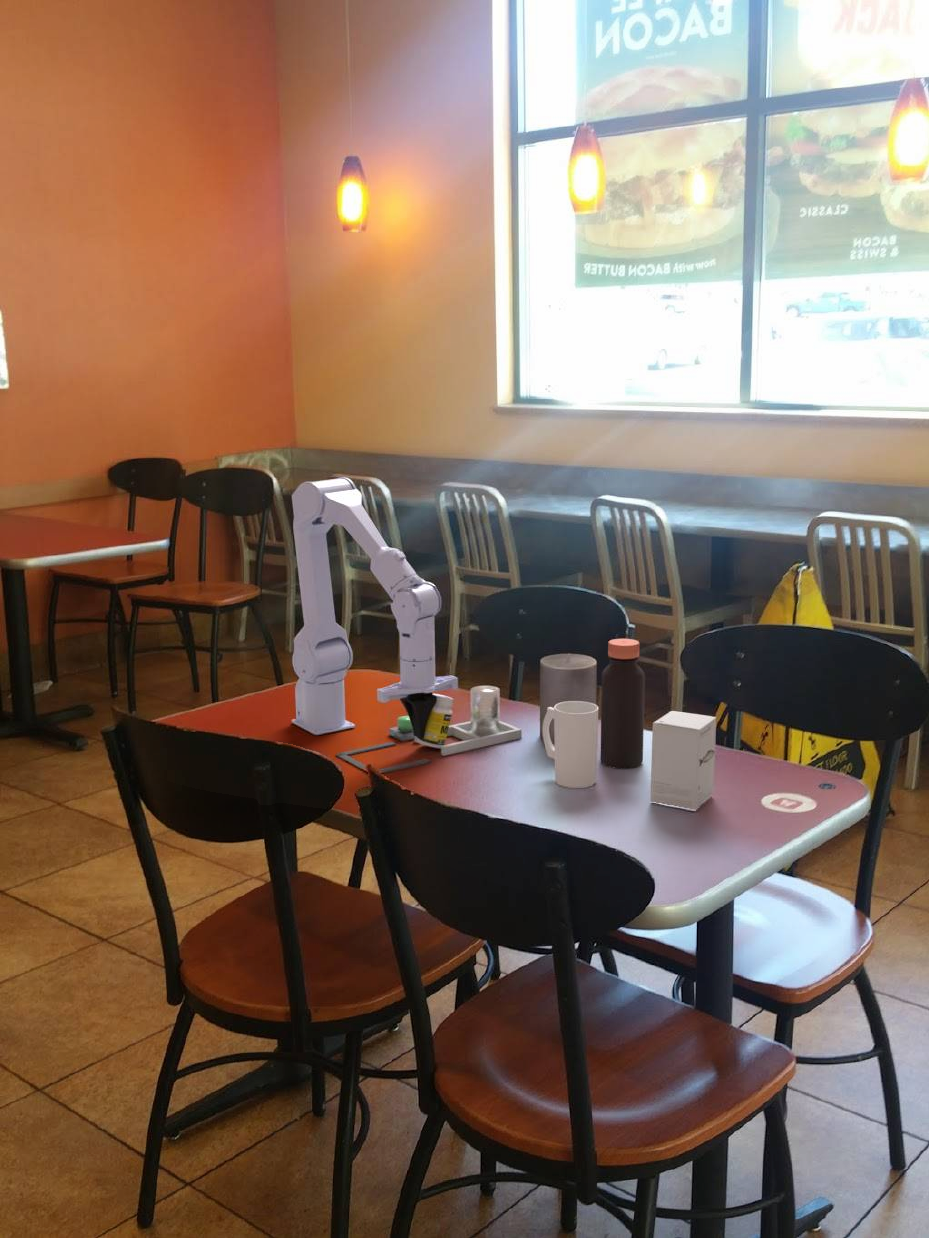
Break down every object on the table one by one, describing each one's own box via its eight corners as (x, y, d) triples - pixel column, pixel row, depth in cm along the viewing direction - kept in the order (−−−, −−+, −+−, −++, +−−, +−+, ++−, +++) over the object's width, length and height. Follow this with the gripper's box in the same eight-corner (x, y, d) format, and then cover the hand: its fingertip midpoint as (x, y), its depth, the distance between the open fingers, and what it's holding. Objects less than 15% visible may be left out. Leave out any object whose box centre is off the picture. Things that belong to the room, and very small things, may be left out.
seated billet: (465, 733, 214) (464, 688, 212) (488, 728, 216) (488, 684, 215) (481, 740, 210) (481, 695, 208) (505, 735, 212) (505, 690, 211)
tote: (335, 755, 204) (335, 753, 204) (391, 743, 210) (391, 741, 210) (372, 775, 194) (372, 774, 194) (430, 762, 200) (430, 760, 200)
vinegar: (651, 761, 199) (654, 641, 195) (626, 772, 195) (628, 649, 190) (616, 752, 204) (619, 635, 200) (591, 762, 199) (593, 642, 195)
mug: (606, 781, 191) (607, 707, 188) (578, 792, 186) (579, 716, 183) (557, 766, 198) (557, 694, 195) (528, 776, 193) (529, 703, 190)
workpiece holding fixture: (414, 741, 210) (414, 733, 210) (490, 724, 219) (490, 716, 219) (443, 755, 203) (443, 747, 203) (521, 737, 212) (521, 729, 212)
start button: (394, 733, 214) (394, 717, 213) (409, 730, 216) (409, 714, 215) (403, 737, 211) (403, 722, 211) (418, 734, 213) (418, 719, 213)
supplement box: (696, 813, 178) (699, 729, 175) (648, 803, 181) (650, 721, 179) (714, 797, 184) (718, 716, 181) (668, 788, 188) (670, 708, 185)
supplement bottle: (440, 750, 204) (452, 701, 203) (413, 742, 205) (425, 693, 204) (446, 746, 209) (458, 698, 208) (420, 739, 210) (431, 691, 209)
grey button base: (389, 734, 214) (389, 728, 214) (410, 730, 217) (410, 723, 216) (402, 741, 211) (402, 734, 210) (424, 736, 213) (424, 730, 213)
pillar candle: (546, 726, 218) (545, 644, 214) (600, 730, 215) (601, 647, 212) (534, 744, 209) (533, 659, 205) (591, 748, 206) (591, 662, 203)
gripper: (391, 669, 195) (393, 751, 198) (467, 655, 203) (468, 734, 206) (369, 660, 201) (372, 739, 204) (444, 647, 209) (445, 724, 212)
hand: (419, 736), depth 205 cm, fingers closed, pressing on supplement bottle
